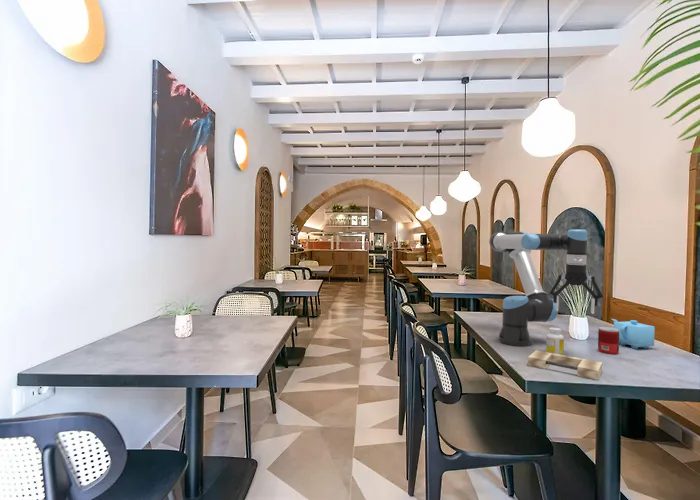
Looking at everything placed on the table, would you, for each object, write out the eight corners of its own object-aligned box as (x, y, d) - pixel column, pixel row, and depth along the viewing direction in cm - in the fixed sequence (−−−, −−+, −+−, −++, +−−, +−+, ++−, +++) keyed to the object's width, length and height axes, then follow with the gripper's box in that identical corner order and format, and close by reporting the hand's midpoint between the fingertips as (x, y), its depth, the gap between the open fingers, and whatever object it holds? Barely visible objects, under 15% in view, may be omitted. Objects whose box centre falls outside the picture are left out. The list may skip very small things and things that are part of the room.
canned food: (622, 355, 165) (622, 331, 165) (602, 353, 167) (603, 330, 167) (613, 350, 173) (614, 327, 173) (594, 349, 174) (595, 326, 174)
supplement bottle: (561, 356, 163) (562, 327, 162) (565, 360, 156) (565, 330, 156) (544, 354, 165) (545, 326, 164) (547, 358, 158) (548, 329, 158)
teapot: (658, 348, 177) (658, 322, 176) (633, 350, 173) (634, 323, 173) (622, 339, 194) (622, 315, 194) (599, 340, 190) (599, 316, 190)
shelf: (527, 365, 149) (527, 356, 149) (535, 358, 159) (536, 350, 159) (597, 380, 134) (598, 370, 134) (602, 371, 143) (602, 362, 143)
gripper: (545, 263, 162) (543, 310, 163) (612, 266, 152) (610, 316, 153) (543, 262, 169) (542, 307, 170) (607, 265, 159) (605, 313, 160)
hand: (574, 311), depth 161 cm, fingers open, 13 cm apart
